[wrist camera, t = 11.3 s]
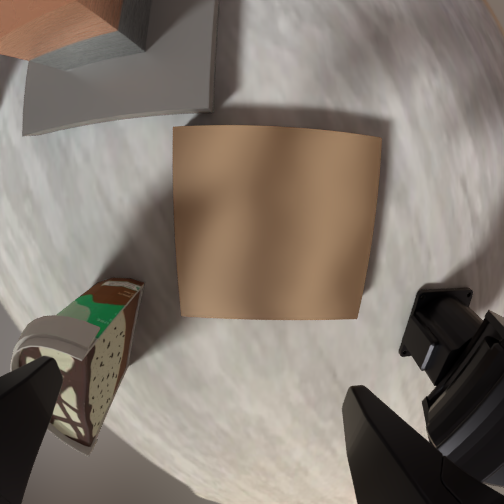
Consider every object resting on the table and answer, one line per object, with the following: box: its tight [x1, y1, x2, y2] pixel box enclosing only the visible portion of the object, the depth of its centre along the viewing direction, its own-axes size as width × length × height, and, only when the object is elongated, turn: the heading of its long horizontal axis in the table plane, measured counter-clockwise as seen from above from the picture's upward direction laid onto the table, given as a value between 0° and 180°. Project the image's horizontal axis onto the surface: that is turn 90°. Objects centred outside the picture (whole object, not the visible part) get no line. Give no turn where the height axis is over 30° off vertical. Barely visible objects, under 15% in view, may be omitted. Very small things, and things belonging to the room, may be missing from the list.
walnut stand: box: [173, 125, 382, 320], centre depth 18 cm, size 12×12×2 cm
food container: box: [10, 278, 145, 457], centre depth 17 cm, size 12×6×10 cm, turn 159°
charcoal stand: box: [22, 0, 219, 136], centre depth 13 cm, size 14×14×2 cm
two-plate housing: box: [0, 0, 152, 71], centre depth 8 cm, size 6×6×8 cm
